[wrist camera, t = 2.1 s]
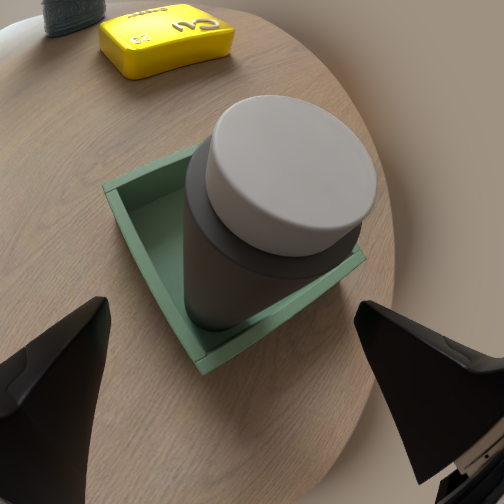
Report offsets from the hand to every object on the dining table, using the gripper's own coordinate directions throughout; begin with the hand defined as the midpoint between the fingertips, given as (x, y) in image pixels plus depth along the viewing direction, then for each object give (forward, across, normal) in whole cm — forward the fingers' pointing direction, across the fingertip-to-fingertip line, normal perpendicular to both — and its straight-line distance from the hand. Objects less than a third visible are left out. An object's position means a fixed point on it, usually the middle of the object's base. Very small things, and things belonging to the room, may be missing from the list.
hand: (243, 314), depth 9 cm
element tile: (+32, +9, -18) cm, 38 cm away
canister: (+43, +31, -29) cm, 60 cm away
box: (+11, -1, +2) cm, 11 cm away
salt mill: (+8, 0, +5) cm, 9 cm away
